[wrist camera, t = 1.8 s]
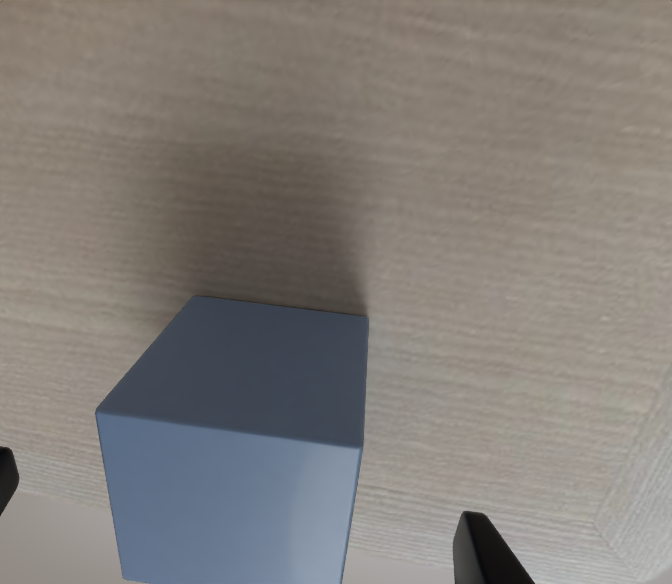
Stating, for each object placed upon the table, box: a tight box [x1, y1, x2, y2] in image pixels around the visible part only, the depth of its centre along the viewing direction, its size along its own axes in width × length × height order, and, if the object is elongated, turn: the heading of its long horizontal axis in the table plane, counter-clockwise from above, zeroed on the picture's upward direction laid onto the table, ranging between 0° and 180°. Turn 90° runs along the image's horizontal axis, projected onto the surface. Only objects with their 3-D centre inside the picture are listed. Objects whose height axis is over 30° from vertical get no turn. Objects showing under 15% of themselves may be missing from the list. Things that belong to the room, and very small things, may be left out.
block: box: [95, 296, 369, 584], centre depth 10 cm, size 4×4×4 cm
